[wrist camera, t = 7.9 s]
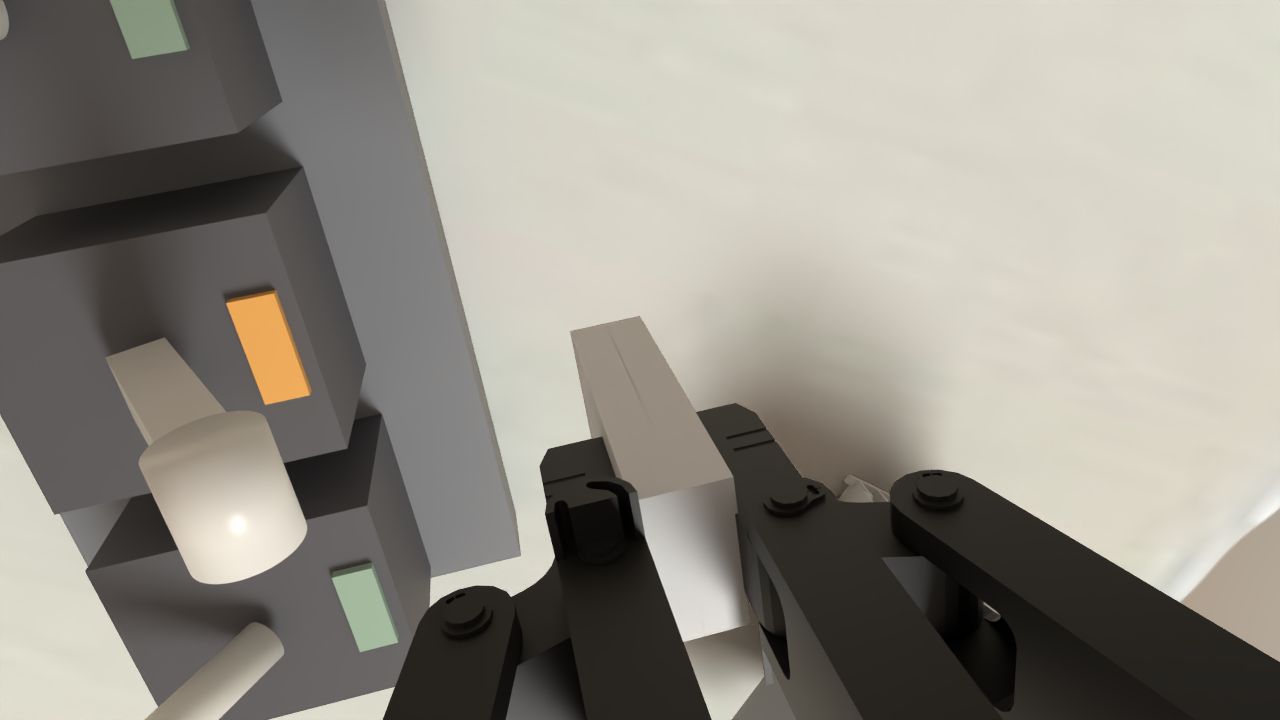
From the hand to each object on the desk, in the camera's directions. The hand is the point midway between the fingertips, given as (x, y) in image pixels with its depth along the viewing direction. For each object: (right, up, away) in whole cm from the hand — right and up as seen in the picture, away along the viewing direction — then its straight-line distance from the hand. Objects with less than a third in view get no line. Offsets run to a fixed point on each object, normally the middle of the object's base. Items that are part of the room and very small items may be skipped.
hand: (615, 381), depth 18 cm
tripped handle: (-12, 0, +4) cm, 13 cm away
